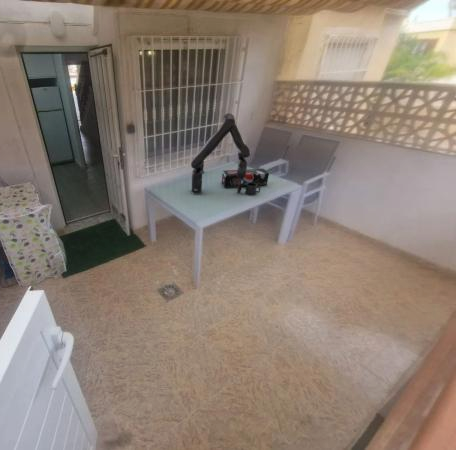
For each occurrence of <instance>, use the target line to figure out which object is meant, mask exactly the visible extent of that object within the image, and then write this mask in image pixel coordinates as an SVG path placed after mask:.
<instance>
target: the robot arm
mask: <svg viewBox="0 0 456 450" xmlns="http://www.w3.org/2000/svg"><path fill="white" fill-rule="evenodd" d="M221 120H222V124H221V126H220V128H219V129H218V130H216V132H215V133H213V134H212V135H210V137H209V138H208V139H207V140H206V141H205V142H204V144H203V146H202V147H201V149H200V151H199V152H198V153H197V154H196V155H195V157H194V158H193V159H191V161H190V166H191V168H192V171H191V191H190V193H191V194H193V195H200V194H202V188H203V174H204V168H205V167H204V165H205V164H204V163H205V160H206V158H208V157H209V156H210V155H211V154H212V153H213V152H214V151H216V149H217V147H218V146H219V145H220V143H221V142H222V141H223V140H224V138H225V137H226V136H227V135H228V134H230V136H231V138H232V141H233V143H234V145H235V147H236V148H237V150H238V151H237V153H238V154H237V156H238V165H237V169H236V170H237V177H238V186H239V189H238V188H237V191H238V190H239V191H242V188H243V187H242V186H243V183H244V182H243V178H244V177H246V171H247V169H248V159H247V158H250V156H251V149H250V148H249V145H247V143H246V142H245V139H244V138H243V136H242V134H241V132H240V131H239V128H238V126H237V122H236V117H235V115H234V114H233V113H230V112H228V113H225V114H224V115H223V117H222V119H221Z"/></svg>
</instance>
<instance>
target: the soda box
mask: <svg viewBox="0 0 456 450" xmlns="http://www.w3.org/2000/svg"><path fill="white" fill-rule="evenodd" d="M237 170H238V169H229V170H228V169H227V170H222V173H221V184H222V186H223V187H224V189H225V188H227V189H229V188H238V177H237ZM269 176H270V173H269V172H268V171H267V170H266V169H265V168H249V169H248V168H247V171H246V177H244V178H243V182H244V183H243V186H242V187H241V188H246V184H247V183H256V184H257V186H260V187H266V186H267V185H268V181H269Z"/></svg>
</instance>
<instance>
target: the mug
mask: <svg viewBox="0 0 456 450" xmlns="http://www.w3.org/2000/svg"><path fill="white" fill-rule="evenodd" d="M257 188H258V190H257ZM261 188H262V186H257V184H256V183H247V184H246V187H245V190H244V191H245V192H244V194H245V195H248V196H255V195H256V193H260V192H261Z"/></svg>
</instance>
